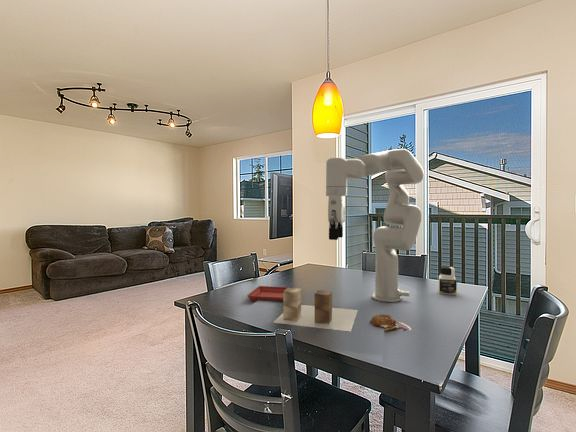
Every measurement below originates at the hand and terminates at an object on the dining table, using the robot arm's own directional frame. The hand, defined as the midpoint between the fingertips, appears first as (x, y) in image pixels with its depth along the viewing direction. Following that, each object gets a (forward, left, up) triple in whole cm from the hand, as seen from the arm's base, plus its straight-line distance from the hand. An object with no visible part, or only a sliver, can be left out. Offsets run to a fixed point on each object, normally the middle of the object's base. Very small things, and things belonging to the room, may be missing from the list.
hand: (336, 238), depth 121 cm
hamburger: (-19, +7, -29) cm, 36 cm away
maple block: (+13, +11, -27) cm, 32 cm away
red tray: (+30, -15, -29) cm, 44 cm away
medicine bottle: (-45, -48, -29) cm, 71 cm away
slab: (+5, +6, -29) cm, 30 cm away
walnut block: (+2, +11, -27) cm, 30 cm away
